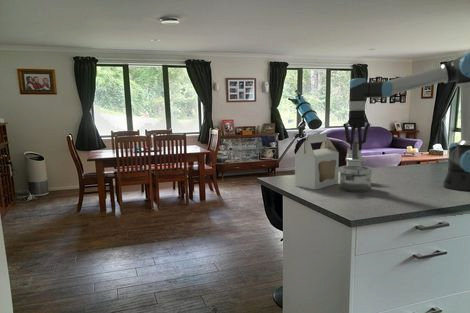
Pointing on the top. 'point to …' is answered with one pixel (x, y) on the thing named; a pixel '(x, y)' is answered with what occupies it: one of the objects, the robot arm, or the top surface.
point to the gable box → (316, 163)
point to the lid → (355, 154)
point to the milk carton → (349, 154)
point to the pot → (355, 178)
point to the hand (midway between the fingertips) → (355, 156)
